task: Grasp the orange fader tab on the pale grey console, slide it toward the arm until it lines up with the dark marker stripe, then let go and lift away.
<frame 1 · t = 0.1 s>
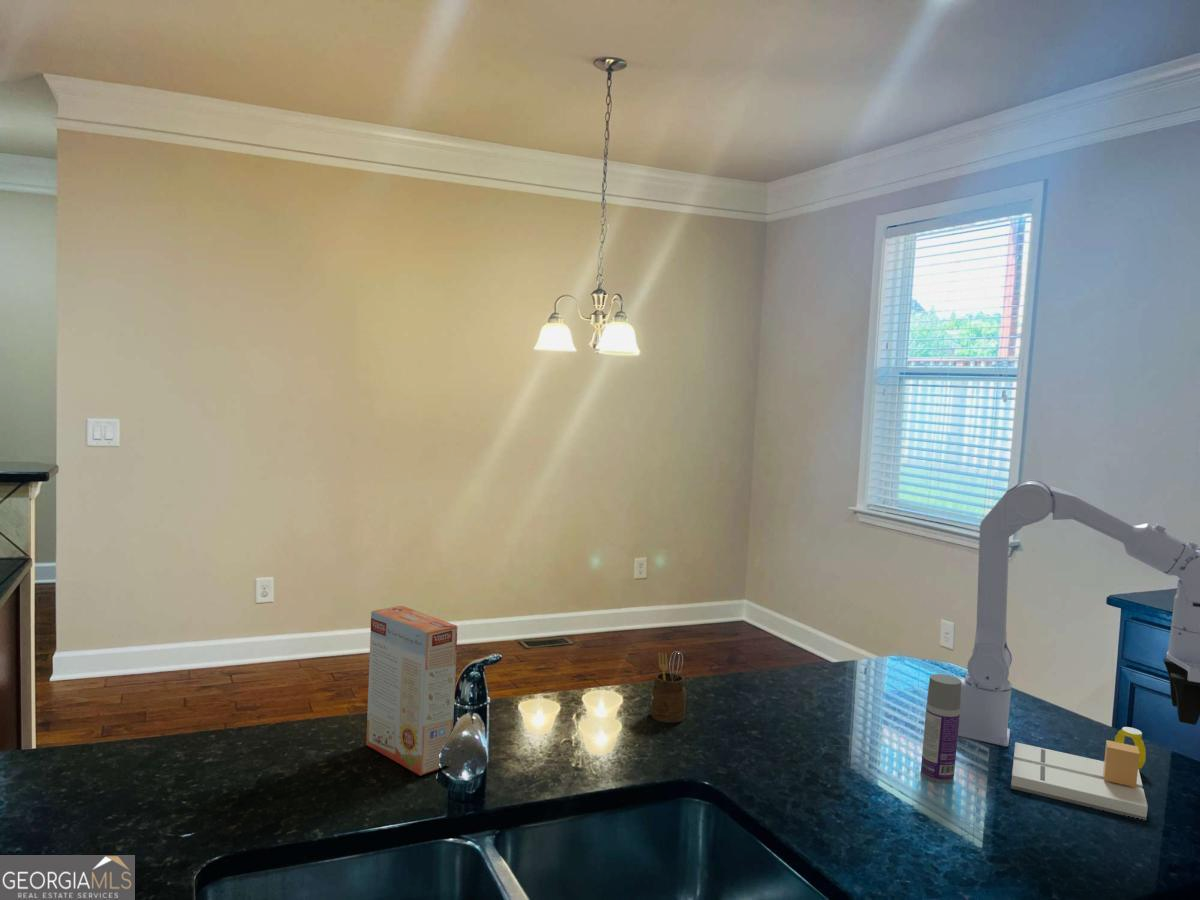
hand: (1183, 714, 133), 10 cm above the worktop, tool pointing down, fingers open, 7 cm apart
cracker box: (408, 756, 127), on the worktop
fader tab: (1120, 768, 126), point 4 cm above the worktop, slide at 10.0 cm
utensil holder: (666, 718, 147), on the worktop
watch: (1127, 766, 137), on the worktop
fader console: (1075, 784, 129), on the worktop
container: (936, 777, 130), on the worktop
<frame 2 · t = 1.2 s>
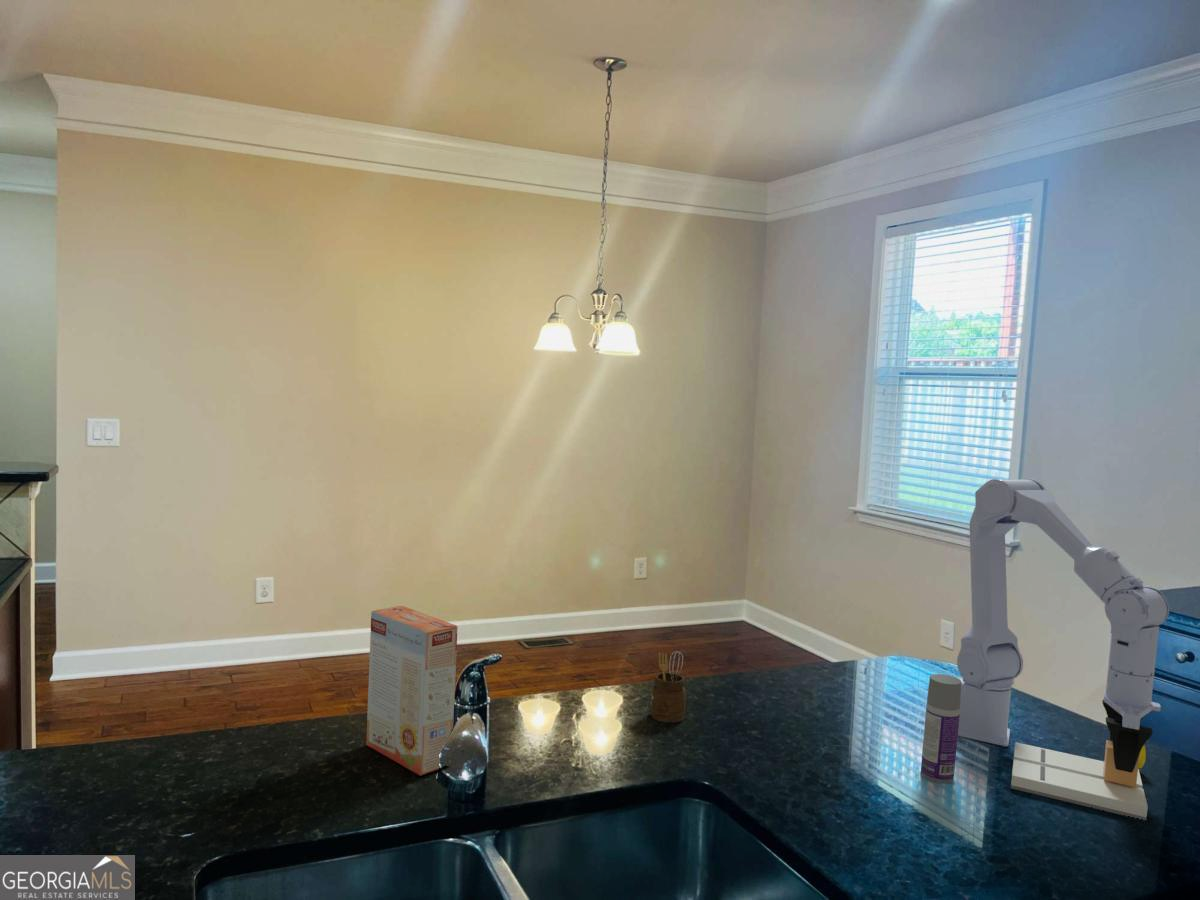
hand: (1121, 760, 126), 5 cm above the worktop, tool pointing down, fingers open, 7 cm apart
nothing on the worktop moved.
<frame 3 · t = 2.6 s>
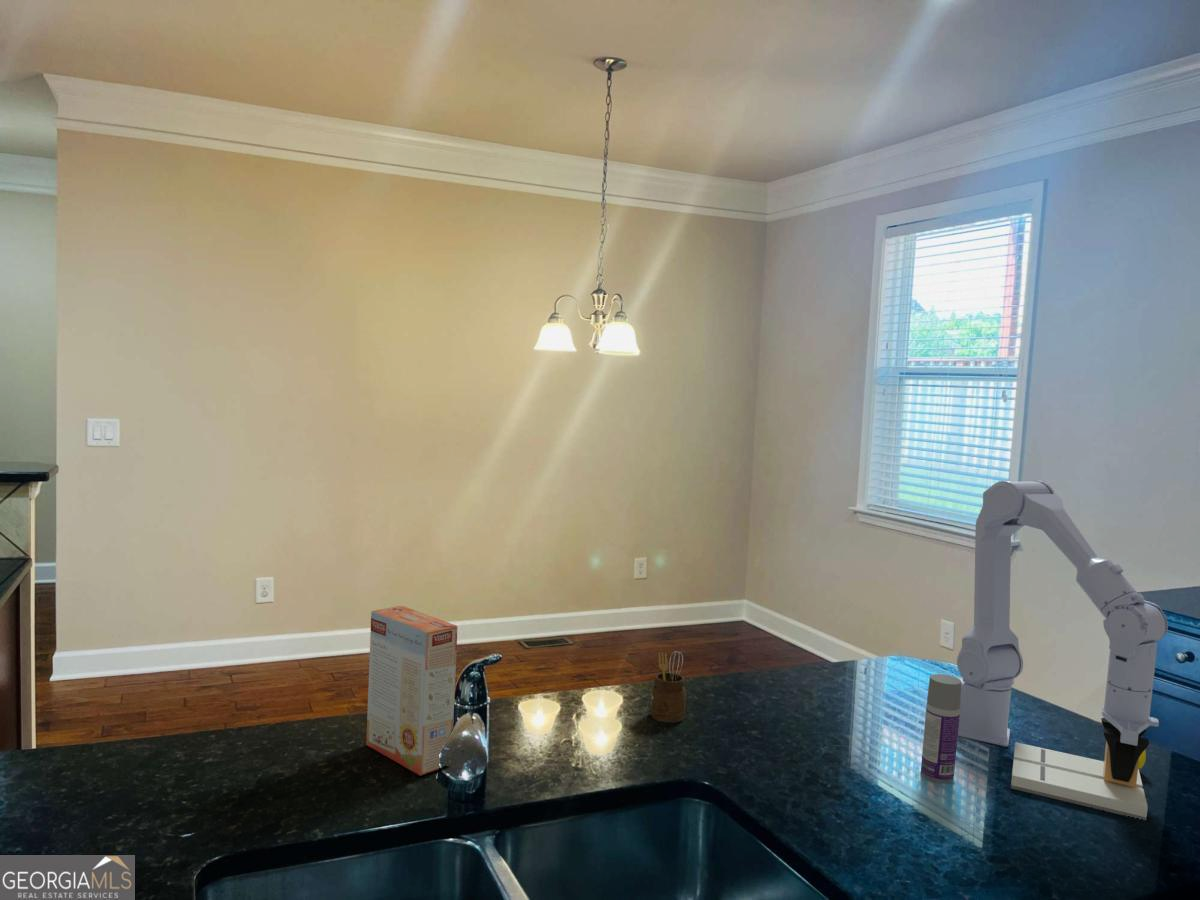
hand: (1119, 775, 126), 3 cm above the worktop, tool pointing down, fingers closed on fader tab, 3 cm apart
fader tab: (1120, 768, 126), point 4 cm above the worktop, slide at 10.0 cm, touching gripper
everything else where it was.
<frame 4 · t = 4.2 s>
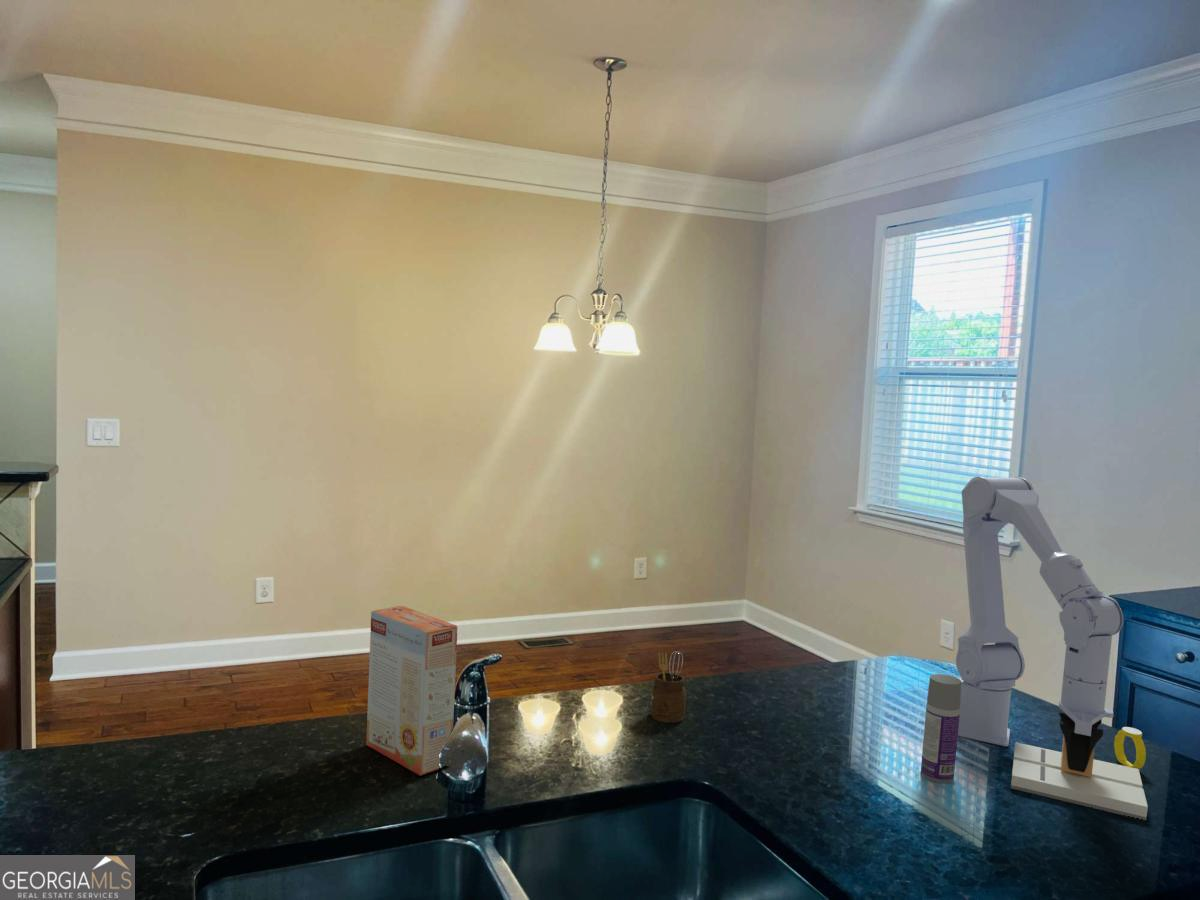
hand: (1076, 765, 129), 3 cm above the worktop, tool pointing down, fingers closed on fader tab, 3 cm apart
fader tab: (1077, 759, 129), point 4 cm above the worktop, slide at 4.4 cm, touching gripper
everything else where it was.
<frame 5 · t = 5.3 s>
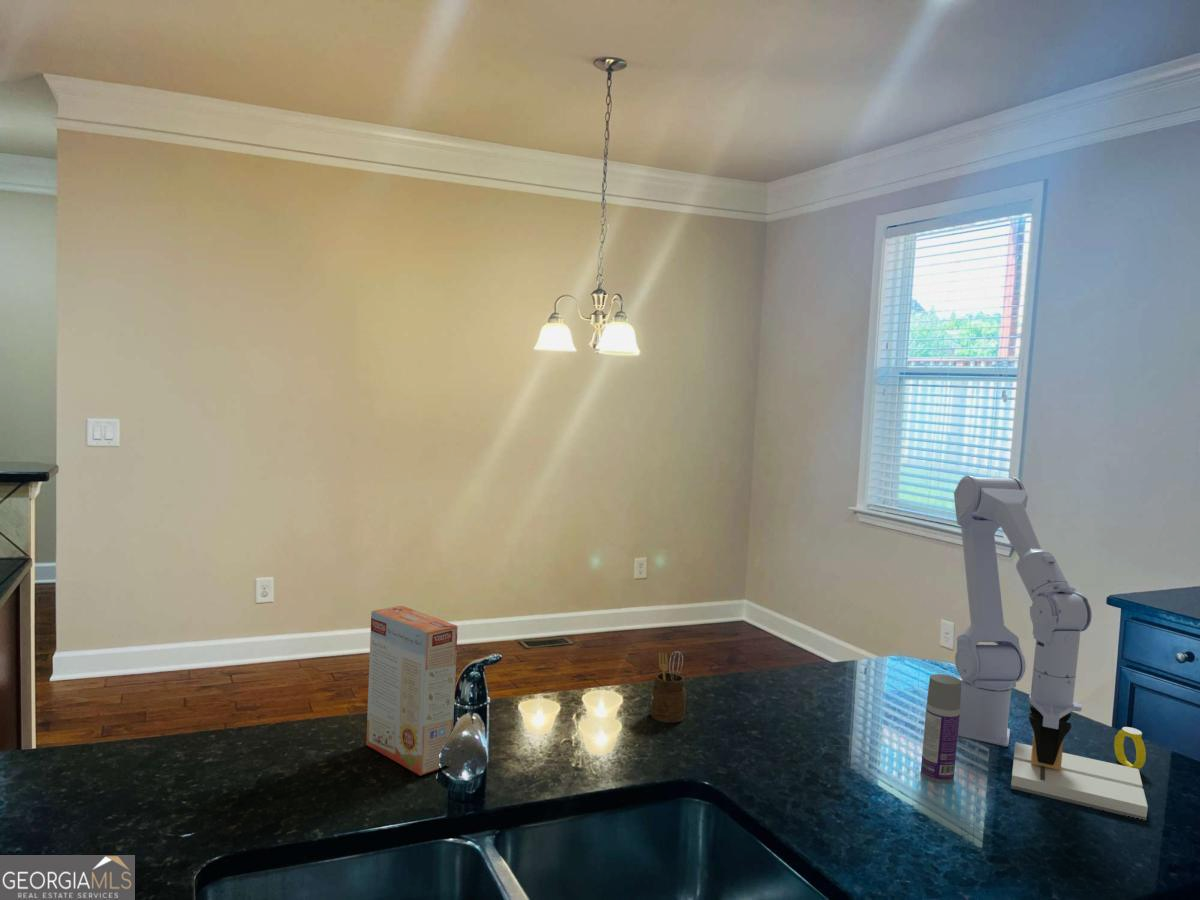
hand: (1045, 758, 131), 3 cm above the worktop, tool pointing down, fingers closed on fader tab, 3 cm apart
fader tab: (1046, 752, 131), point 4 cm above the worktop, slide at 0.4 cm, touching gripper
everything else where it was.
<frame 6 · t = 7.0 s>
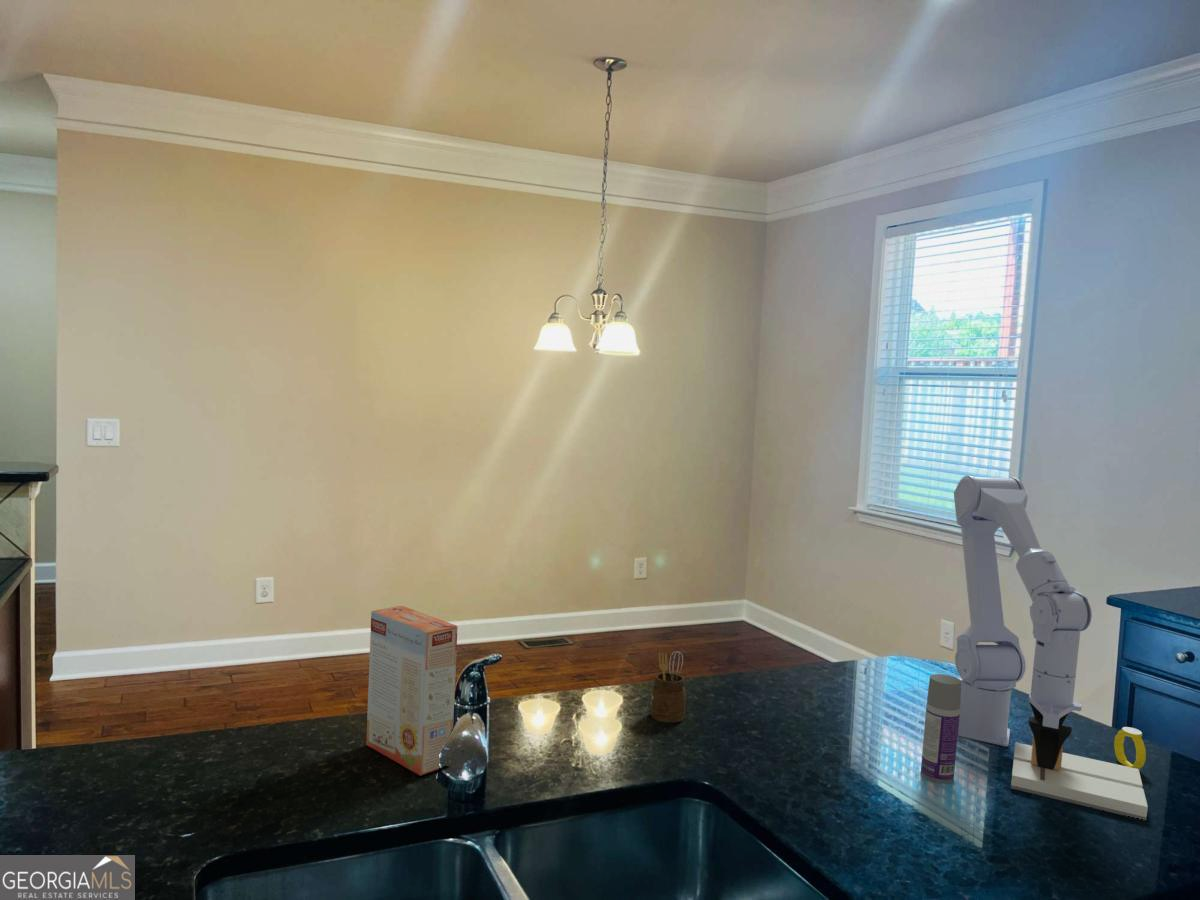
hand: (1045, 758, 131), 3 cm above the worktop, tool pointing down, fingers open, 7 cm apart
fader tab: (1046, 752, 131), point 4 cm above the worktop, slide at 0.4 cm
everything else where it was.
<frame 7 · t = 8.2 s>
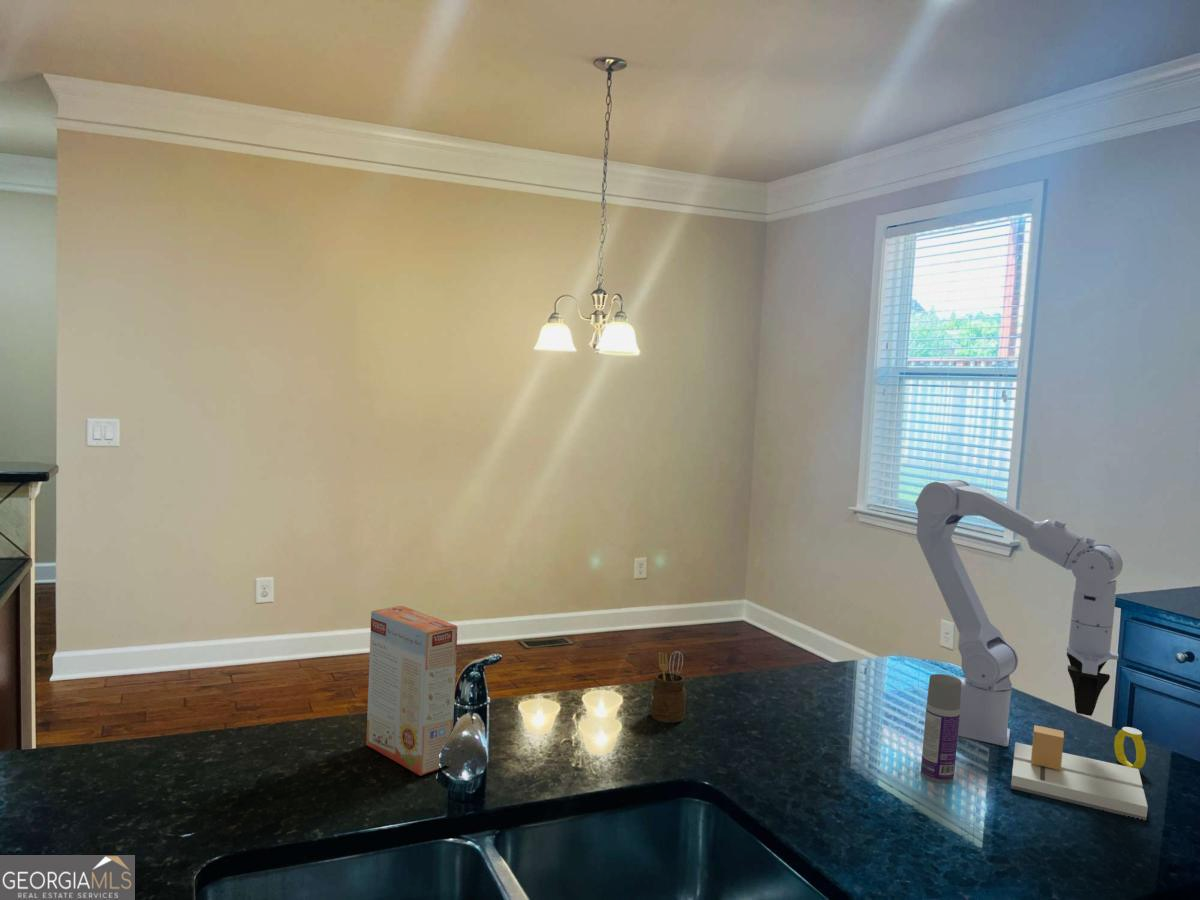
hand: (1083, 706, 136), 9 cm above the worktop, tool pointing down, fingers open, 7 cm apart
nothing on the worktop moved.
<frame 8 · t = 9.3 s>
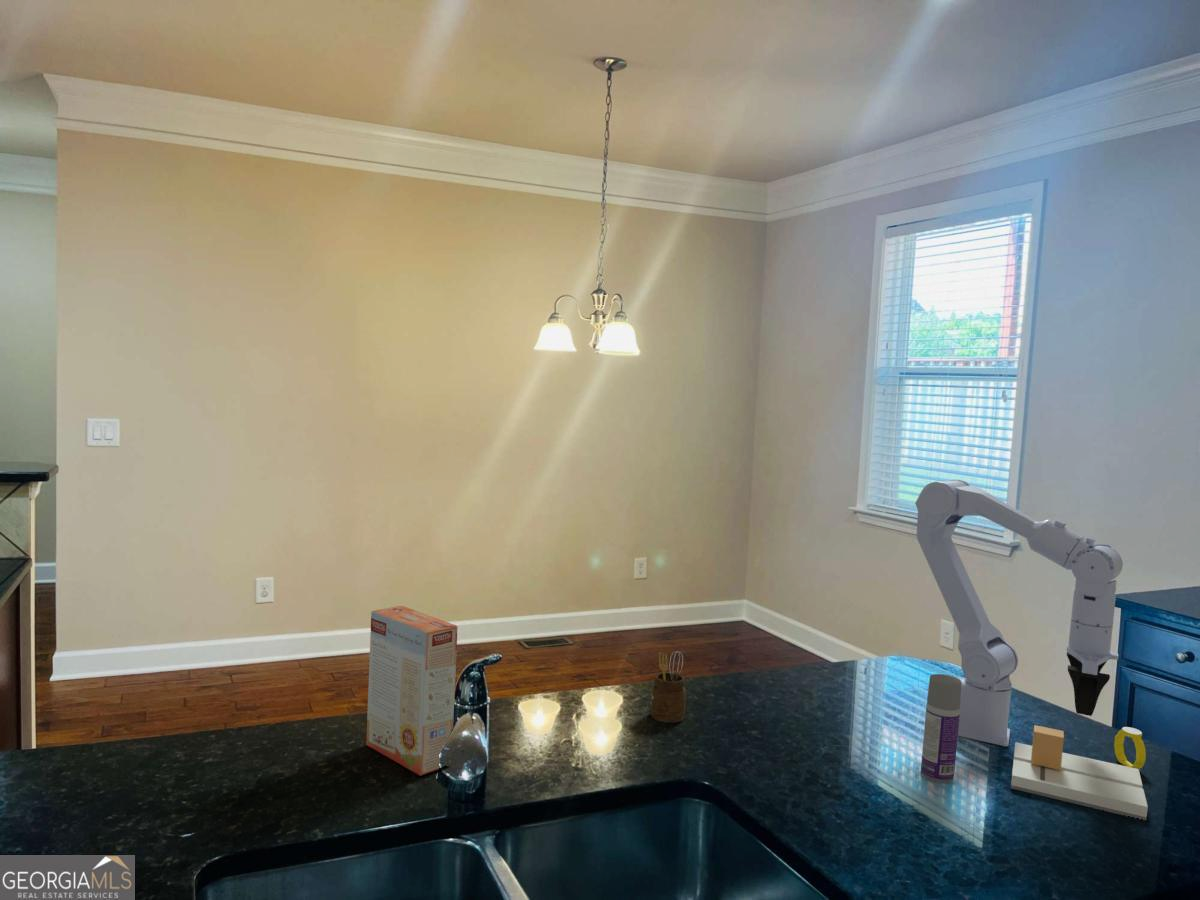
hand: (1083, 706, 136), 9 cm above the worktop, tool pointing down, fingers open, 7 cm apart
nothing on the worktop moved.
at the end: fader tab slide at 0.4 cm; the gripper is holding nothing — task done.
